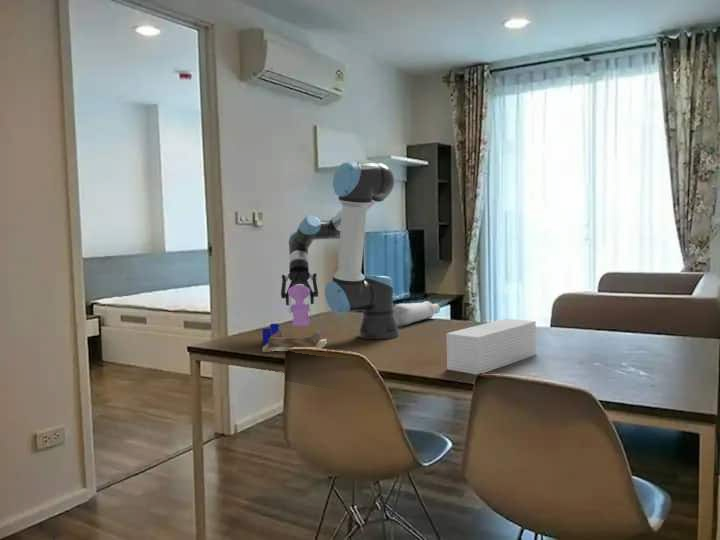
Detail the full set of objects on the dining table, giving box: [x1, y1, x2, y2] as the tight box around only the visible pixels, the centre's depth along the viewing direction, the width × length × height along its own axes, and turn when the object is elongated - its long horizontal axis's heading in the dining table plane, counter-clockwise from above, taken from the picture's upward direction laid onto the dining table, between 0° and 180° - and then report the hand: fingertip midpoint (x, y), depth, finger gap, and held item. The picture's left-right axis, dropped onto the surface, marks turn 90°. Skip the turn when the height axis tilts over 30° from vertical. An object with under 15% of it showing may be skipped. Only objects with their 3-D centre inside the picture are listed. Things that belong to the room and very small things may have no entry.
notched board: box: [262, 330, 328, 353], centre depth 219 cm, size 20×14×4 cm
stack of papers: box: [446, 318, 537, 375], centre depth 188 cm, size 32×11×11 cm, turn 135°
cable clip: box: [261, 323, 280, 346], centre depth 232 cm, size 12×4×6 cm, turn 173°
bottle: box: [393, 300, 441, 327], centre depth 267 cm, size 9×9×30 cm
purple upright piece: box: [287, 284, 311, 327], centre depth 235 cm, size 8×9×15 cm
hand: (300, 310), depth 232 cm, fingers closed on purple upright piece, 7 cm apart
